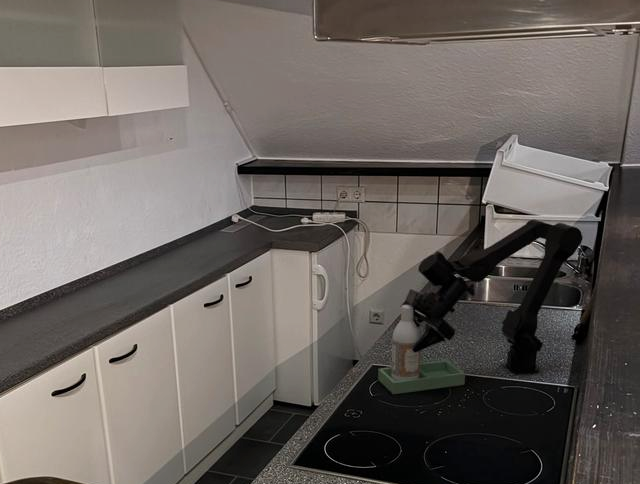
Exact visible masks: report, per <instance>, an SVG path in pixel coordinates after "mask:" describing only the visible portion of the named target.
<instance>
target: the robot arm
mask: <svg viewBox="0 0 640 484" xmlns="http://www.w3.org/2000/svg"><path fill="white" fill-rule="evenodd" d="M583 237H584V236H583V233H582V231H581V230H580V228H578V227H576V226H572V225H570V224H566V223H564V222H557V223H555V224H550V223H547V222H543V221H541V220H537V219H535V218H533V219H530V220H528V221H527V222H525V224H524V225H522V226H520V227H519V228H517V229H515V230H513V231H512V232H511V233H509V234H508V235H505V237H504V236H503V238H501V239H499V240H498V241H496V242H495V243H493V244H491V245H490V246H488V247H486V248H482V249H477V250H473V251H472V252H469V253H467V254H465V255H463V256H461V257H460V258H459V259H456V260H451V261H449V260H448V259H447V258H446V256H445V255H444V254H443V253H442V252H441V251H439V250H436V251H435V252H434V254H430V255H429V256H427V257H426V258H424V259H422V261H421V262H420V263H419V265H418V272H419V273H420V274H421V275H422V276H423V277H424V279H426V280H427V281H428V282H429V283H430V284H431V285H432V286H434V287H439V288H437V290H436V291H435V292H434V291H430V292H427V291H425V292H419V291H416V290H415V289H411V288H410V289H409V290H408V293H407V294H406V297H405V300H404V301H403V303H402V304H401V305H400V308H401V307H402V305H412V306H413V321H414V322H415V324H416V326H417V327H418V328H419V327H421V323H424V322H425V326H424V327H425V328H424V332H423V334H422V335H420V339H419V340H418V342H417V343H416V345H415V346H414V348H413V349H412V350H413V351H414V352H415V353H416V352H418V351H420V352H421V351H423V350H424V349H427V348H429V347H431V346H433V345H436V344H439V343H441V342H446V341H449V342H450V341H451V340H452V339H453V338H454V337H455V335H456V329H455V328H454V327H453V326H451V325H450V323H449V322H448V321H446V320H445V319H444V318H445V317H446V316H447V315H448V314H449V313H452V314H453V313H454V312H455V311H456V309H455V308H454V307H455V306H456V304H457V303H458V302H459V301H460V300H461V298H462V297H463V296H464V295H466V294H468V295H470V296H475V284H473V283H470V282H474V283H481V282H483V281H484V280H485V279H486V278H487V277H489V276H490V275H491V274H492V273H493V272H494V271H495V269H496V268H497V266H498V265H499V264H500V263H502V262H503V261H505V260H507V259H508V258H509V257H512V256H513V255H514V254H517V253H518V252H519V251H521V250H523V249H524V248H526V247H527V246H529V245H531V244H532V243H534V242H535V241H537V240H538V239H543V240H545V241H544V255H543V258H542V260H541V261H540V264H539V266H538V268H537V270H536V271H535V274H534V277H533V278H532V280H531V282H530V285H529V286H528V288H527V290H526V293H525V295H524V297H523V298H522V301H521V303H520V305H519V306H518V307H517V308H516V309H514V310H511V309H509V310H507V311H506V316H505V318H504V320H502V322H501V324H502V327H501V331H502V335H503V336H504V337H505V338H506V340H507V341H506V342H507V343H508V344H510V345H509V351H507V355H506V362H505V366H506V367H507V368H508V370H510V371H511V372H513V373H514V374H528V373H538V372H539V369H538V368H537V367H536V366H537V357H538V356H537V355H538V352H540V351H541V349H542V348H543V344H544V343H543V342H542V341H541V340H540V339H539V338H538V337H537V336H535V335H536V332H537V329H538V315H539V312H540V310H541V308H542V306H543V304H544V303H545V300H546V298H547V296H548V294H549V292H550V290H551V288H552V286H553V284H554V282H555V280H556V279H557V276H558V274H559V272H560V270H561V269H562V268H561V267H562V266H563V264H564V263H565V262H566V261H567V260H569V259H570V258H571V257H572V256H573V255H574V254H575V253H576V252H577V250H578V249H579V247H580V245H581V244H582V242H583V239H584V238H583ZM455 274H456V275H457V276H456V275H455ZM464 278H465V279H467V280H469V281H470V282H467V281H466V280H465V279H464Z"/></svg>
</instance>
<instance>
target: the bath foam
mask: <svg viewBox="0 0 640 484" xmlns="http://www.w3.org/2000/svg"><path fill="white" fill-rule="evenodd" d="M401 305H402V304H401ZM400 308H401V310H400V320H399V321H398V323H397V324H396V327H395V328H394V330H393V332H392V339H391V367H392V371H391V372H392V374H391V378H392V379H393V380H394V381H403V380H410V379H418V378H419V367H420V363H421V350H420V351H418V352H416V353H415V352H414V351H413V350H412V349H413V348H414V346H415V345H416V343H417V342H418V340H419V339H420V338H421V332H420V328H419V327H417V326H416V324H415V322H414V321H413V306H412V305H402V307H400Z"/></svg>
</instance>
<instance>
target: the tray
mask: <svg viewBox="0 0 640 484" xmlns="http://www.w3.org/2000/svg"><path fill="white" fill-rule="evenodd" d="M377 371H378V372H377V373H378V376H377V380H378V381H379V383H381V385H383V386H384V387H385V388H386V389H387V390H388V391H389V392H390V393H391V394H392V395H398V394H406V393H413V392H420V391H421V392H422V391H429V390H436V389H443V388H444V389H445V388H450V387H451V388H452V387H459V386H464V385H465V384H466V383H465V382H466V373H465V372H464V371H463V370H461V369H460V368H459V367H458V366H456V365H454V364H453V363H452V362H451V361H449V360H448V359H443V360H437V361H429V362H420V367H419V378H418V379H410V380H403V381H394V380H393V379H392V378H391V374H392V372H391V371H392V366H390V367H380V368H378V370H377Z"/></svg>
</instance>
